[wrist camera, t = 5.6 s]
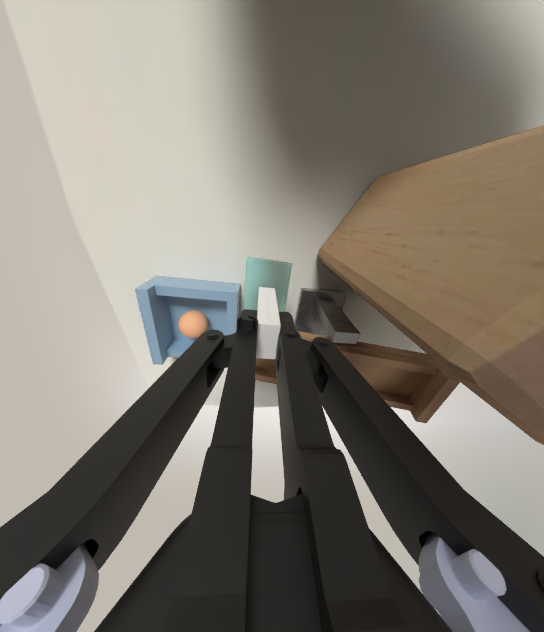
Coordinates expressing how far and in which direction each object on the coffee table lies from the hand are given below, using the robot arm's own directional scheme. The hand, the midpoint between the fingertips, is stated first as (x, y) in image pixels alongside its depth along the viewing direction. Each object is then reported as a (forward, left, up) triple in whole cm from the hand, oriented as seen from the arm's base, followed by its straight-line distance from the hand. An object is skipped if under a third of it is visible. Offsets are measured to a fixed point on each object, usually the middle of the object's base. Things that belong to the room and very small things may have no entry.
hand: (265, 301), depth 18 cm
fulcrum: (+6, +8, -7) cm, 13 cm away
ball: (+6, -9, -5) cm, 12 cm away
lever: (+3, +8, 0) cm, 9 cm away
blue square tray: (+6, -8, -7) cm, 13 cm away
